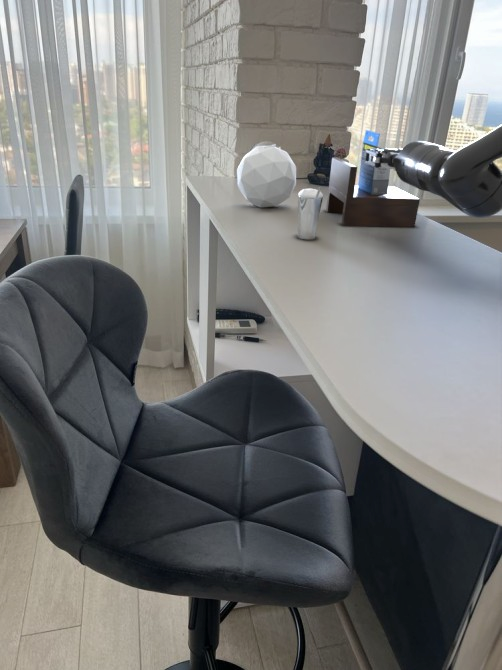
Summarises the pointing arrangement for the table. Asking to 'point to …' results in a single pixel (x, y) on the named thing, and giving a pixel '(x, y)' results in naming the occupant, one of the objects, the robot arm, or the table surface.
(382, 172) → the label tape box
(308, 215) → the milkshake
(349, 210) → the l-shaped wooden block
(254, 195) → the geodesic sphere
